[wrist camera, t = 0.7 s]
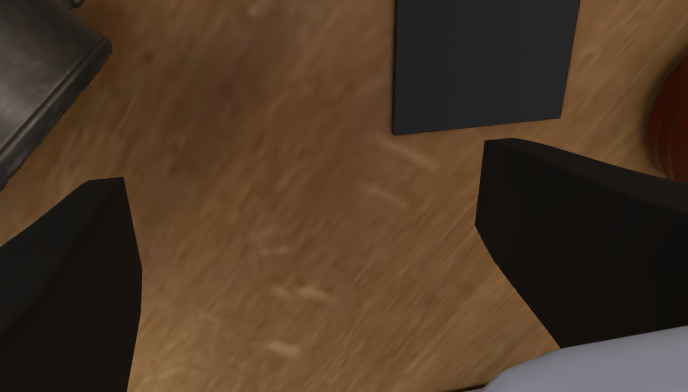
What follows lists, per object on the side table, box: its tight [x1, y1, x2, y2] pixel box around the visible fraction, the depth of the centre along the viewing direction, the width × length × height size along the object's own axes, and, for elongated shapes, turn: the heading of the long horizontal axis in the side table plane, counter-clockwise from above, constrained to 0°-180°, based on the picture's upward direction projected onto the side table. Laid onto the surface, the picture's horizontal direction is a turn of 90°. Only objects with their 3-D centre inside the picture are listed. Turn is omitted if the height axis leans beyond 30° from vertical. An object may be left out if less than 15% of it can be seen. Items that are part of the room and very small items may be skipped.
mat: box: [392, 0, 580, 136], centre depth 21 cm, size 9×7×1 cm
